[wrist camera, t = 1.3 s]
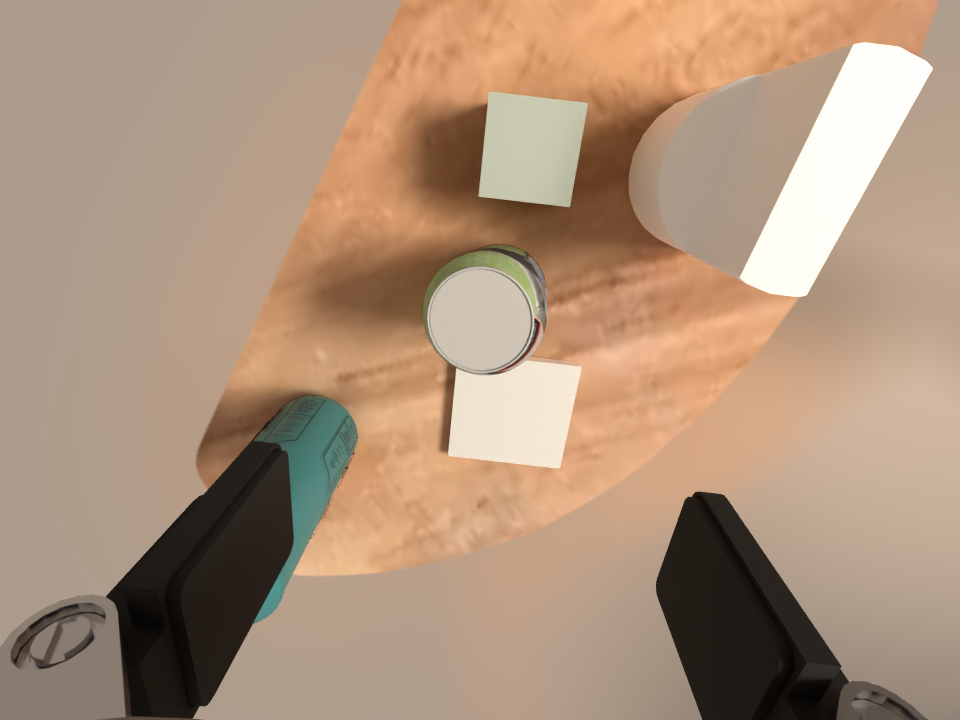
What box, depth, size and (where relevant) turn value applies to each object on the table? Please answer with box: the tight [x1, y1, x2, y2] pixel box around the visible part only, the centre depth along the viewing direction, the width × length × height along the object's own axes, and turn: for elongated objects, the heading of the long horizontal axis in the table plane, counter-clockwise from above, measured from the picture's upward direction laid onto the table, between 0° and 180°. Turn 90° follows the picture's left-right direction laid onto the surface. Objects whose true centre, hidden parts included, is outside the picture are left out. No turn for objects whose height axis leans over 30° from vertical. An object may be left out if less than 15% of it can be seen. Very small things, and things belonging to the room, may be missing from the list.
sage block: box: [479, 91, 588, 207], centre depth 26 cm, size 5×5×5 cm
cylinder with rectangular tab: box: [629, 42, 933, 297], centre depth 23 cm, size 9×9×12 cm
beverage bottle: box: [223, 396, 358, 624], centre depth 28 cm, size 6×7×20 cm
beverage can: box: [423, 244, 547, 375], centre depth 26 cm, size 6×7×12 cm
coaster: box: [448, 357, 582, 469], centre depth 35 cm, size 9×9×1 cm
